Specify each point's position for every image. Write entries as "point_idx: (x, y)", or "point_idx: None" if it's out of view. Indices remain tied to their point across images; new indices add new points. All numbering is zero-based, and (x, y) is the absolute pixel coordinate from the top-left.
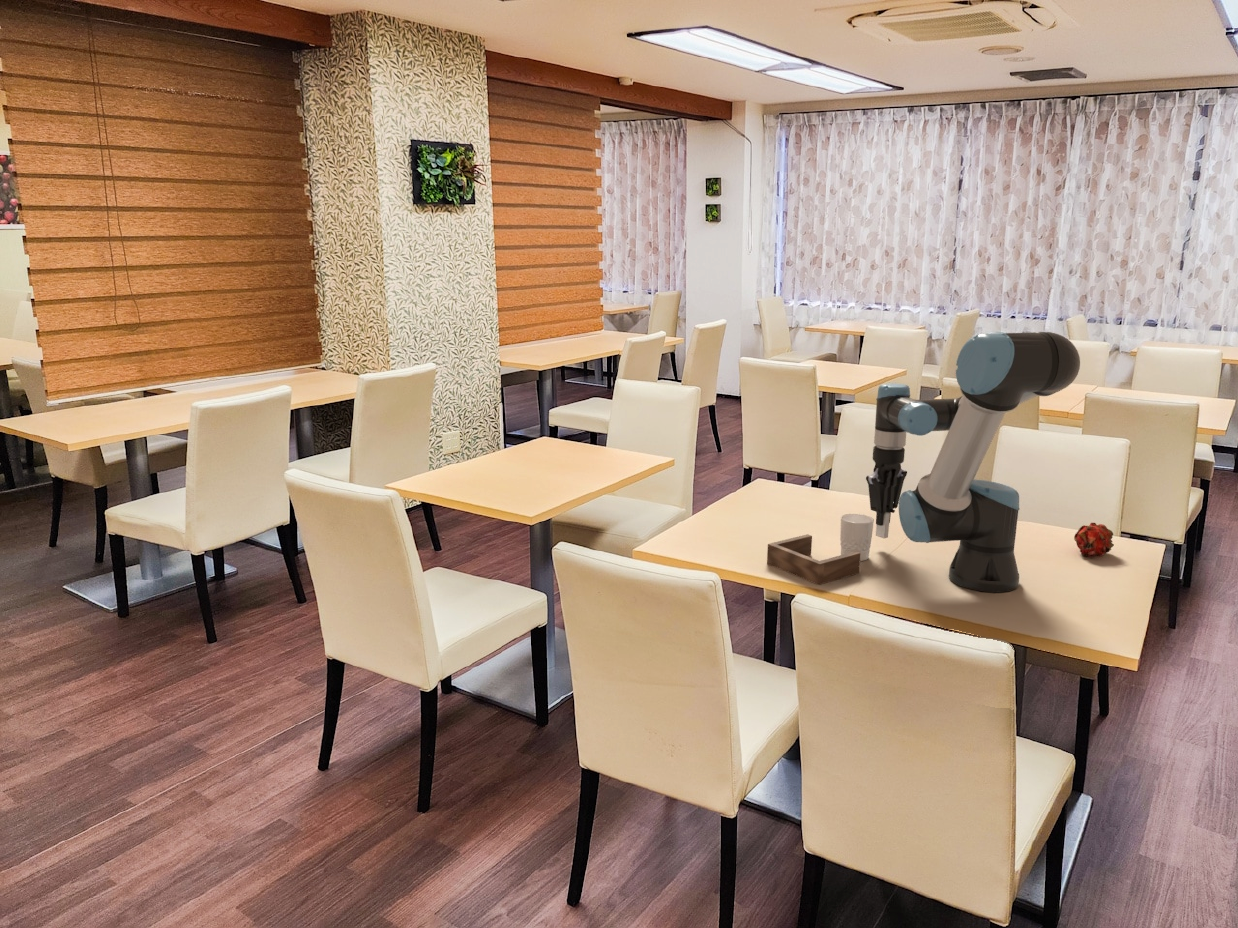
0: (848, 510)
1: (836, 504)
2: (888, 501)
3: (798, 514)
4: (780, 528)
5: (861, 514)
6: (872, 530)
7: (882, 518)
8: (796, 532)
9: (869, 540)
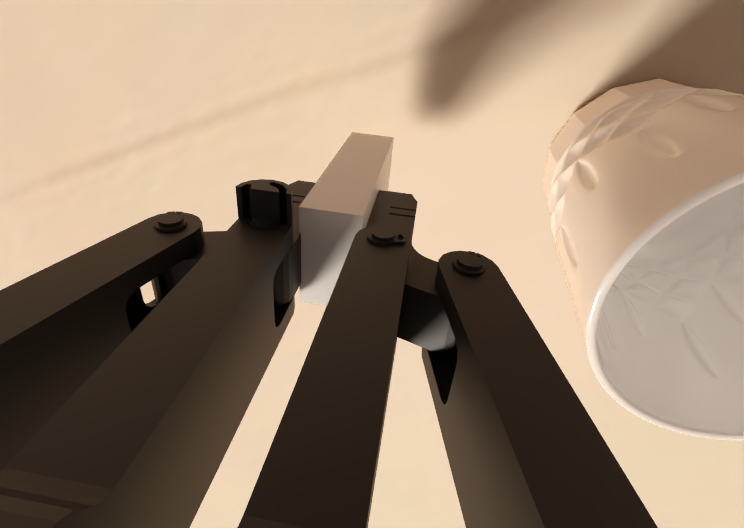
0: None
1: None
2: (257, 306)
3: None
4: None
5: (596, 352)
6: (694, 130)
7: (385, 219)
8: None
9: (719, 97)
